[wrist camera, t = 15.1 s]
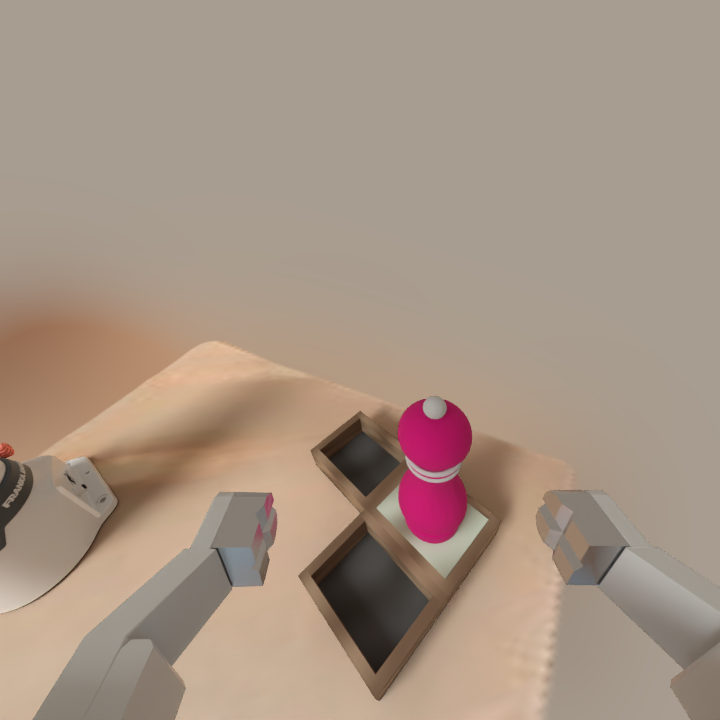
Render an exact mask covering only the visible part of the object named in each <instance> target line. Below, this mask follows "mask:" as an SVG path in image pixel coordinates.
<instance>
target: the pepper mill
mask: <svg viewBox="0 0 720 720" xmlns="http://www.w3.org/2000/svg"><path fill="white" fill-rule="evenodd" d="M398 440H399V443H400V446H401V449H402V451H403V452H404V454H405V458H406V463H407V465H408V467H409V469H408V470H407V471H406V472H405V474H404V475H403V477H402V479H401V482H400V485H399V491H398V501H399V506H400V509H401V511H402V514H403V516H404V517H405V521H406V524H407V526H408V528H409V529H410V531H411V532H412V533H413V534H414V535H415V536H416V537H417V538H419V539H420V540H422V541H424V542H427V543H433V544H438V543H443V542H446V541H447V540H449V539H450V538H452V537H453V536H454V534H455V533H456V531H457V529H458V526H459V525H460V524H461V522H462V521H463V519H464V517H465V515H466V511H467V494H466V490H465V487H464V485H463V483H462V480H461V479H460V477H459V476H458V475H457V474H458V472H459V471H460V469H461V466H462V461H463V460H464V459H465V457H466V456H467V454H468V452H469V451H470V447H471V444H472V430H471V426H470V423H469V421H468V419H467V417H466V416H465V414H464V413H463V412H462V411H461V410H460V409H459V408H458V407H457V406H456V405H454V404H452V403H451V402H449V401H446V400H443V399H442V398H440V397H438V396H431V397H429V398H427V399H423V400H420V401H417V402H415V403H414V404H412V405H411V406H409V407H408V408H407V409H406V411H405V412H404V413H403V415H402V417H401V419H400V421H399V425H398Z"/></svg>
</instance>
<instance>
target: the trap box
mask: <svg viewBox="0 0 720 720" xmlns="http://www.w3.org/2000/svg"><path fill="white" fill-rule="evenodd" d="M311 453H312V455H313V458H314V460H315V463H316V465H317V466H318V467H319V468H320V469H321V470H322V471H323V473H324V474H325V475H326V476H327V477H328V478H329V479H330V480H331V481H332V482H333V483H334V485H335V486H336V487H337V488H338V489H339V490H340V491H341V492H342V493H343V494H344V496H345V497H346V498H347V499H348V500H349V501H350V502H351V503H352V504H353V505H354V506H355V508H356V509H357V510H358V511H359V512H360V513H361V514H360V515H359V516H358V517H357V518H356V519H355V520H354V521H353V522H352V523H351V524H350V525H349V526H348V527H347V528H346V529H345V530H344V531H343V532H342V533H341V534H340V535H339V536H338V537H337V538H336V539H335V540H334V541H333V542H332V543H331V544H330V545H329V546H328V547H327V548H326V549H325V550H324V551H323V552H322V553H321V554H320V555H319V556H318V557H317V558H316V559H315V560H314V561H313V562H312V563H311V564H310V565H309V566H308V567H307V568H306V569H305V570H304V571H303V572H302V573H301V574H300V575H299V576H298V577H299V578H300V580H301V581H302V583H303V585H304V586H305V588H306V589H307V591H308V593H309V594H310V596H311V597H312V599H313V600H314V602H315V604H316V605H317V607H318V608H319V610H320V612H321V613H322V615H323V616H324V618H325V620H326V621H327V623H328V624H329V626H330V628H331V629H332V631H333V632H334V634H335V636H336V637H337V639H338V640H339V642H340V644H341V645H342V647H343V648H344V650H345V652H346V653H347V655H348V656H349V658H350V659H351V661H352V663H353V664H354V666H355V667H356V669H357V671H358V672H359V674H360V675H361V677H362V679H363V680H364V682H365V683H366V685H367V687H368V688H369V690H370V691H371V693H372V695H373V696H374V698H375V699H377V700H379V701H380V699H381V698H382V697H383V695H384V694H385V692H386V691H387V689H388V688H389V687H390V685H391V684H392V682H393V681H394V679H395V678H396V676H397V675H398V674H399V672H400V671H401V669H402V668H403V666H404V665H405V664H406V662H407V661H408V659H409V658H410V656H411V655H412V654H413V652H414V651H415V649H416V648H417V646H418V645H419V644H420V642H421V641H422V639H423V638H424V636H425V635H426V633H427V632H428V631H429V629H430V628H431V626H432V625H433V623H434V622H435V621H436V619H437V618H438V616H439V615H440V613H441V612H442V611H443V609H444V608H445V606H446V605H447V603H448V602H449V601H450V599H451V598H452V596H453V595H454V593H455V592H456V591H457V589H458V588H459V586H460V585H461V583H462V582H463V580H464V579H465V578H466V576H467V575H468V573H469V572H470V570H471V569H472V568H473V566H474V565H475V563H476V562H477V560H478V559H479V558H480V556H481V555H482V553H483V552H484V550H485V549H486V548H487V546H488V545H489V543H490V542H491V540H492V539H493V537H494V536H495V535H496V532H497V530H498V527H499V525H500V522H501V520H500V519H499V518H497V517H496V516H495V515H493V514H492V513H491V512H490V511H488V510H487V509H486V508H484V507H483V506H482V505H481V504H479V503H478V502H477V501H475V500H474V499H473V498H472V497H470V496H469V495H468V494H467V511H466V515H465V517H464V519H463V521H462V522H461V524H460V525H459V526H458V529H457V531H456V533H455V534H454V536H453V537H452V538H450V539H449V540H447V541H446V542H443V543H438V544H433V543H427V542H424V541H422V540H420V539H419V538H417V537H416V536H415V535H414V534H413V533H412V532H411V531H410V529H409V528H408V526H407V524H406V521H405V517H404V516H403V514H402V511H401V509H400V506H399V501H398V491H399V485H400V482H401V479H402V477H403V475H404V474H405V472H406V471H407V470H408V469H409V467H408V465H407V463H406V458H405V454H404V452H403V451H402V449H401V446H400V443H399V441H398V440H397V439H396V438H394V437H393V436H392V435H390V434H389V433H388V432H387V431H385V430H384V429H383V428H381V427H380V426H379V425H378V424H376V423H375V422H374V421H372V420H371V419H370V418H369V417H367V416H366V415H365V414H363V413H362V412H361V411H360V412H358V413H357V414H356V415H355V416H353V417H352V418H351V419H350V420H348V421H347V422H346V423H345V424H343V425H342V426H341V427H339V428H338V429H337V430H336V431H334V432H333V433H332V434H331V435H329V436H328V437H327V438H326V439H324V440H323V441H322V442H321V443H319V444H318V445H317V446H315V447H314V448H313V449H312V450H311Z"/></svg>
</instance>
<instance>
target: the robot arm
mask: <svg viewBox="0 0 720 720" xmlns="http://www.w3.org/2000/svg"><path fill="white" fill-rule="evenodd" d="M13 454H14V450H13V449H12V447H11V446H10V445H8V444H6V443H1V444H0V613H5V612H9V611H12V610H15V609H18V608H20V607H22V606H24V605H26V604H28V603H30V602H32V601H33V600H35V599H37V598H38V597H40V596H41V595H43V594H44V593H46V592H47V591H48V590H50V589H51V588H52V587H53V586H55V585H56V584H57V583H58V582H59V581H60V580H61V579H63V578H64V577H65V576H66V575H67V574H68V573H69V572H70V571H71V570H72V569H73V568H74V566H75V565H76V564H77V563H78V562H79V561H80V559H81V558H82V557H83V556H84V554H85V553H86V551H87V550H88V548H89V547H90V545H91V544H92V542H93V540H94V538H95V536H96V534H97V532H98V530H99V528H100V527H101V525H102V523H103V522H104V521H105V520H106V518H107V517H108V516H109V515H110V514H111V512H112V511H113V510H114V508H115V507H116V505H117V503H118V500H117V498H116V497H115V495H114V494H113V493H112V491H111V490H110V488H109V487H108V485H107V484H106V482H105V481H104V479H103V478H102V476H101V475H100V473H99V472H98V470H97V469H96V467H95V466H94V465H93V463H92V462H91V460H90V459H88V458H87V457H79V458H75V459H72V460H69V461H66V462H63V461H62V460H60V459H58V458H57V457H55V456H50V455H49V456H41V457H37V458H34V459H31V460H29V461H25V462H23V463H20V462H18V461H12V460H9V459H6V458H7V457H9V456H12V455H13ZM543 500H544V502H545V504H544V505H543V506H541V507H540V508H538V511H537V514H536V525H537V529H538V532H539V534H540V536H541V538H542V540H543V542H544V543H545V544H546V545H547V546H549V547H550V548H551V549H552V550H553V557H552V559H553V561H554V563H555V565H556V567H557V568H558V570H559V572H560V574H561V576H562V578H563V580H564V582H565V583H566V585H599V586H598V588H599V589H600V590H601V591H602V592H603V593H604V594H605V595H607V597H609V598H610V599H611V600H612V601H613V602H614V603H615V604H616V605H617V606H618V607H619V608H620V609H621V610H622V611H623V612H624V613H625V614H626V615H627V616H629V617H630V618H631V619H632V620H633V621H634V622H635V623H636V624H637V625H638V626H639V627H640V628H641V629H642V630H643V631H644V632H645V633H646V634H647V635H648V636H649V637H651V638H652V639H653V640H654V641H655V642H656V643H657V644H658V645H659V646H660V647H661V648H662V649H663V650H664V651H665V652H666V653H667V654H668V655H669V656H670V657H672V658H673V659H674V660H675V661H676V662H677V663H678V664H679V665H680V666H681V667H682V668H683V669H684V670H683V671H682V672H681V673H679V674H678V675H677V676H676V677H674V678H673V679H672V680H671V686H670V687H671V689H672V690H673V692H674V694H675V695H676V697H677V698H678V700H679V702H680V703H681V705H682V706H683V708H684V709H685V711H686V713H687V714H688V716H689V718H690V719H691V720H720V587H718V586H717V585H715V584H714V583H712V582H711V581H709V580H708V579H706V578H705V577H703V576H702V575H700V574H699V573H697V572H695V571H694V570H692V569H691V568H689V567H688V566H686V565H685V564H683V563H682V562H680V561H679V560H677V559H675V558H674V557H672V556H671V555H669V554H668V553H666V552H665V551H663V550H662V549H660V548H659V547H652V546H651V545H650V544H649V543H648V542H647V541H646V539H645V538H644V537H643V535H642V534H641V533H640V532H639V531H638V530H637V528H636V527H635V526H634V525H633V524H632V522H631V521H630V520H629V519H628V517H627V516H626V515H625V514H624V513H623V511H622V510H621V509H620V508H619V507H618V506H617V504H616V503H615V502H614V501H613V500H612V498H611V497H610V496H609V495H608V494H607V493H605V492H604V491H602V490H584V491H582V490H553V491H548V492H546V493H545V494H544V497H543ZM273 501H274V499H273V496H272V493H256V492H219V493H218V494H217V496H216V497H215V498H214V500H213V502H212V504H211V506H210V508H209V510H208V512H207V514H206V517H205V519H204V521H203V523H202V525H201V527H200V529H199V531H198V533H197V535H196V537H195V539H194V541H193V543H192V545H191V547H190V549H184V550H183V551H182V552H180V553H179V554H178V555H177V556H176V557H175V558H174V559H172V560H171V561H170V562H169V563H168V564H167V565H166V566H165V567H163V568H162V569H161V570H160V571H159V572H158V573H157V574H155V575H154V576H153V577H152V578H151V579H150V580H149V581H147V582H146V583H145V584H144V585H143V586H142V587H141V588H140V589H138V590H137V591H136V592H135V593H134V594H133V595H132V596H130V597H129V598H128V599H127V600H126V601H125V602H124V603H122V604H121V605H120V606H119V607H118V608H117V609H116V610H115V611H113V612H112V613H111V614H110V615H109V616H108V617H107V618H105V619H104V620H103V621H102V622H101V623H100V624H99V625H97V626H96V627H95V628H94V629H93V630H92V631H91V632H90V633H88V634H87V635H86V636H85V637H84V639H83V640H82V642H81V643H80V645H79V646H78V648H77V650H76V651H75V653H74V654H73V656H72V658H71V659H70V661H69V662H68V664H67V666H66V667H65V669H64V670H63V672H62V674H61V675H60V677H59V678H58V680H57V682H56V683H55V685H54V686H53V688H52V690H51V691H50V693H49V694H48V696H47V697H46V699H45V701H44V702H43V704H42V705H41V707H40V709H39V710H38V712H37V713H36V715H35V717H34V718H33V720H175V718H176V715H177V712H178V709H179V706H180V703H181V700H182V697H183V694H184V691H185V689H186V688H185V685H184V681H183V680H182V679H181V677H180V676H179V675H178V674H177V672H176V671H175V670H174V669H173V667H172V665H173V664H174V663H175V661H176V660H177V659H178V657H179V656H180V655H181V654H182V652H183V651H184V650H185V649H186V647H187V646H188V645H189V643H190V642H191V641H192V640H193V638H194V637H195V636H196V635H197V633H198V632H199V631H200V629H201V628H202V627H203V626H204V624H205V623H206V622H207V620H208V619H209V618H210V617H211V615H212V614H213V613H214V612H215V610H216V609H217V608H218V606H219V605H220V604H221V603H222V601H223V600H224V599H225V598H226V596H227V595H228V594H229V592H230V591H231V590H232V587H243V586H263V584H264V580H265V576H266V572H267V568H268V564H269V556H268V552H267V550H268V549H269V548H270V547H271V546H272V545H273V544H274V540H275V535H276V529H277V513H276V510H275V509H274V508H273V507H272V504H273Z"/></svg>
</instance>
